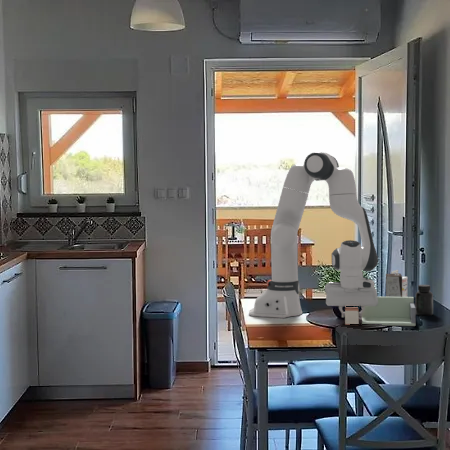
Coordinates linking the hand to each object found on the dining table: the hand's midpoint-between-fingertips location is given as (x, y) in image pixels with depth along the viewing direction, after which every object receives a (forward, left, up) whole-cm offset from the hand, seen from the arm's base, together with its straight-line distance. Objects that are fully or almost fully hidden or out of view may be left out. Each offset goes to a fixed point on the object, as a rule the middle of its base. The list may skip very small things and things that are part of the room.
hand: (352, 317), depth 268 cm
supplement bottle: (+29, +18, -2) cm, 34 cm away
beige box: (0, 0, -2) cm, 2 cm away
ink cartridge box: (+20, +41, -2) cm, 46 cm away
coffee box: (+17, +20, -2) cm, 26 cm away
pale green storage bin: (+14, +2, -2) cm, 14 cm away
